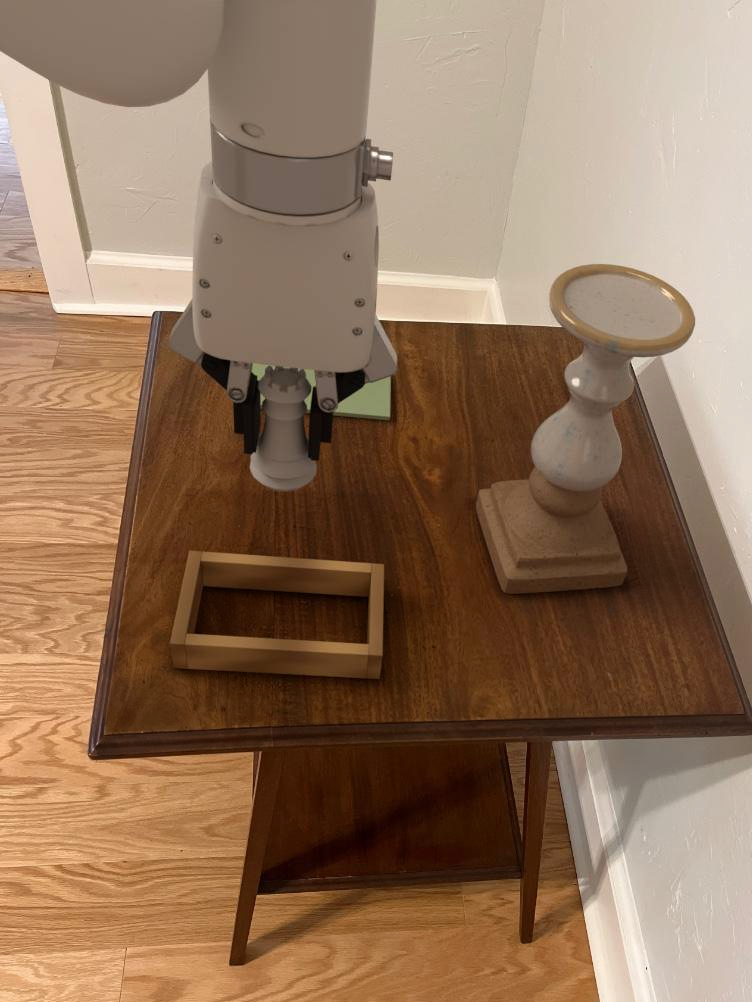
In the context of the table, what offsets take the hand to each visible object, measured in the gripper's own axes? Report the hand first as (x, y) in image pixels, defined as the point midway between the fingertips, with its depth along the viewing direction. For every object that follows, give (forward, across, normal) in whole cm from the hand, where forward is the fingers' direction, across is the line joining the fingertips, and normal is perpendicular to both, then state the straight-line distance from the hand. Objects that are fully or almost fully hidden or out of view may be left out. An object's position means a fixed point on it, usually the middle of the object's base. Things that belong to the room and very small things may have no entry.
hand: (283, 441), depth 59 cm
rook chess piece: (+3, 0, 0) cm, 3 cm away
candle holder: (+16, -22, -9) cm, 29 cm away
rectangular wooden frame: (+16, 0, +2) cm, 16 cm away
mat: (+16, -1, -27) cm, 32 cm away
